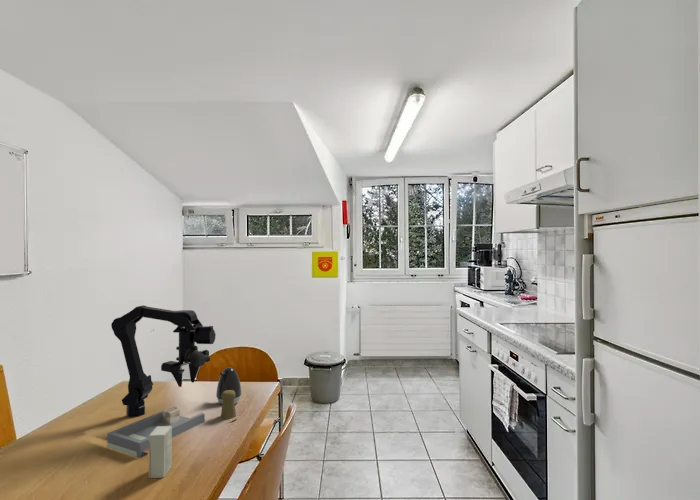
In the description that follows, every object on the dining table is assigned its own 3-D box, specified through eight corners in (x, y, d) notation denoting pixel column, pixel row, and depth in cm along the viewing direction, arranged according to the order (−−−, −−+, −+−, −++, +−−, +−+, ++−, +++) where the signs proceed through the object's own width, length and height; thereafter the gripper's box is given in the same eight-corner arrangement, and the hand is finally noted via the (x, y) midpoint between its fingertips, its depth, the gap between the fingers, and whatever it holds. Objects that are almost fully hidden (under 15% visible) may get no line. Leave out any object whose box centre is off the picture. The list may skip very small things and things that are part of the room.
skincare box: (156, 467, 119) (156, 425, 119) (172, 466, 119) (172, 425, 119) (147, 479, 112) (148, 435, 113) (164, 478, 113) (164, 434, 113)
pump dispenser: (210, 406, 167) (210, 369, 167) (227, 398, 177) (227, 363, 177) (230, 409, 163) (230, 372, 163) (246, 401, 173) (246, 365, 173)
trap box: (107, 447, 131) (107, 433, 131) (173, 418, 155) (173, 406, 155) (139, 457, 124) (140, 443, 124) (204, 425, 148) (204, 413, 148)
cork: (231, 423, 149) (231, 394, 150) (217, 422, 151) (217, 393, 151) (239, 417, 155) (239, 388, 155) (225, 416, 157) (225, 387, 157)
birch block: (162, 422, 147) (162, 411, 147) (171, 418, 151) (171, 407, 151) (170, 424, 146) (170, 413, 146) (179, 420, 149) (179, 409, 149)
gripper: (181, 351, 143) (181, 395, 143) (220, 341, 160) (220, 380, 159) (160, 347, 148) (159, 390, 148) (199, 338, 165) (199, 376, 164)
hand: (186, 384), depth 155 cm, fingers open, 6 cm apart
